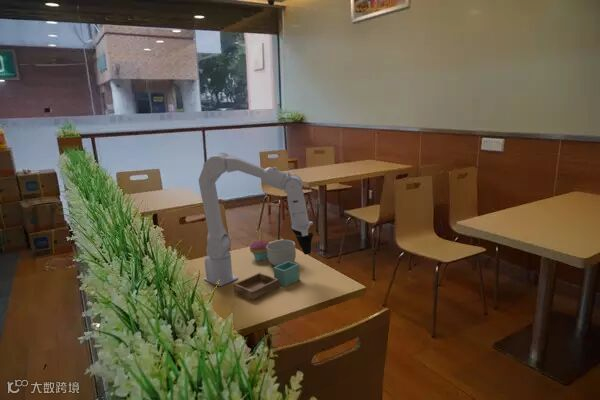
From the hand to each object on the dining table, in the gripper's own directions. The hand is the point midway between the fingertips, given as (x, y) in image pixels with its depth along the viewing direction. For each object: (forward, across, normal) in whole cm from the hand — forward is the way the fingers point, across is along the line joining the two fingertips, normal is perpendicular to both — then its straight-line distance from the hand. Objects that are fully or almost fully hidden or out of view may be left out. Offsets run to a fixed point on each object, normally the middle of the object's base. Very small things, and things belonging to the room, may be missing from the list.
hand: (305, 250), depth 137 cm
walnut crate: (+8, -4, +19) cm, 21 cm away
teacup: (+9, +17, +7) cm, 21 cm away
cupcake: (+8, +24, +15) cm, 29 cm away
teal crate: (+9, 0, +8) cm, 12 cm away
